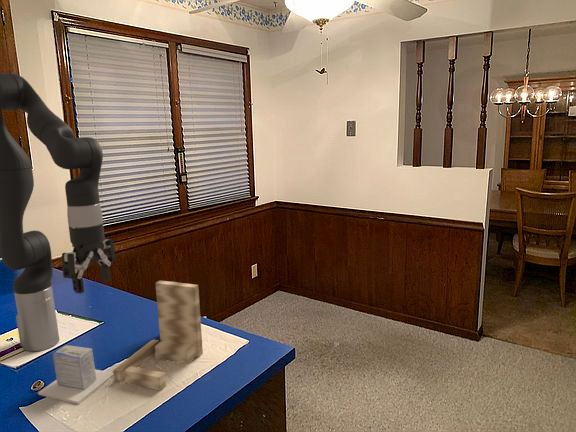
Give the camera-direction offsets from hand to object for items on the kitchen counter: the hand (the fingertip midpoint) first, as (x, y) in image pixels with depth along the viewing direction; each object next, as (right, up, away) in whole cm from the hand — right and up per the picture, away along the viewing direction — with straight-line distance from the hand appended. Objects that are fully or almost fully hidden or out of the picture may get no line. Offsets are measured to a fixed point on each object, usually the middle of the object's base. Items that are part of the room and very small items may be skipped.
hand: (93, 286), depth 107 cm
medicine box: (-3, -24, -1) cm, 24 cm away
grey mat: (-3, -24, -1) cm, 24 cm away
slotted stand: (+15, -22, +6) cm, 27 cm away
